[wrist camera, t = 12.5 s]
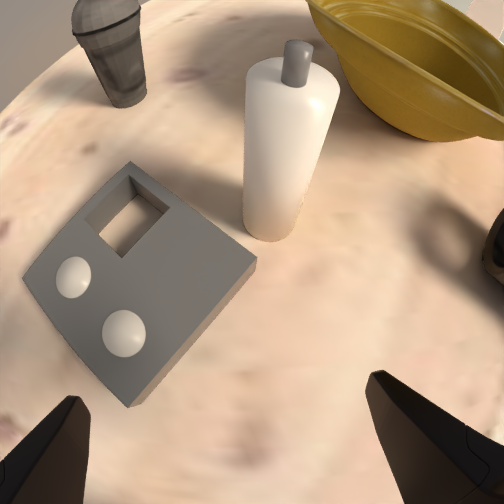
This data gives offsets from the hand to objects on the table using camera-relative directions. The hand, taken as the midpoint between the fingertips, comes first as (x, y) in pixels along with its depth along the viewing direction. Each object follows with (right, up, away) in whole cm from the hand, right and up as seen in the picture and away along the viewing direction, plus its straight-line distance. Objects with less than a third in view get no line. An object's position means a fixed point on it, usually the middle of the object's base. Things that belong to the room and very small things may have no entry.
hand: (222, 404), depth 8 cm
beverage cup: (-14, +23, +23) cm, 35 cm away
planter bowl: (+21, +24, +25) cm, 41 cm away
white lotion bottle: (+2, +7, +17) cm, 19 cm away
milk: (+68, +68, +44) cm, 106 cm away
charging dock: (-8, +2, +15) cm, 17 cm away
